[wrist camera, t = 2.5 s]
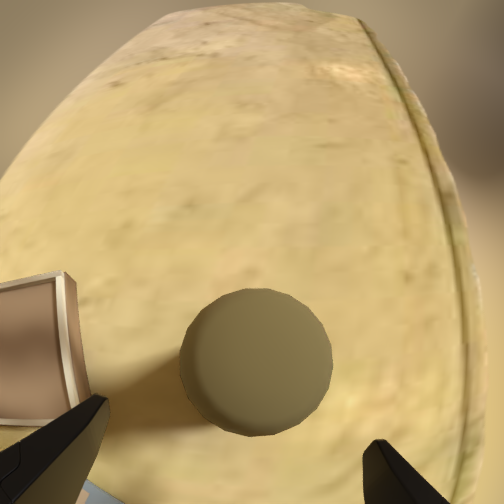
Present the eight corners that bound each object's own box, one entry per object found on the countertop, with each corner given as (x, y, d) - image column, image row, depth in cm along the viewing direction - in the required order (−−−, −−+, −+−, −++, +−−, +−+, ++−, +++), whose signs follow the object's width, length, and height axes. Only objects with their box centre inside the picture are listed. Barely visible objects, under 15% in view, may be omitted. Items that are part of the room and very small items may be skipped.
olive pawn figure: (170, 393, 17) (124, 400, 7) (211, 314, 20) (218, 231, 10) (257, 433, 16) (316, 481, 7) (294, 352, 19) (381, 308, 9)
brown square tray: (97, 422, 15) (82, 426, 13) (-7, 422, 13) (-27, 423, 10) (76, 282, 19) (61, 268, 17) (-18, 301, 16) (-36, 290, 14)
